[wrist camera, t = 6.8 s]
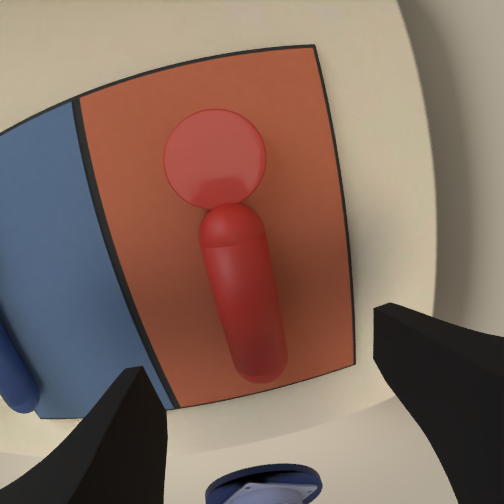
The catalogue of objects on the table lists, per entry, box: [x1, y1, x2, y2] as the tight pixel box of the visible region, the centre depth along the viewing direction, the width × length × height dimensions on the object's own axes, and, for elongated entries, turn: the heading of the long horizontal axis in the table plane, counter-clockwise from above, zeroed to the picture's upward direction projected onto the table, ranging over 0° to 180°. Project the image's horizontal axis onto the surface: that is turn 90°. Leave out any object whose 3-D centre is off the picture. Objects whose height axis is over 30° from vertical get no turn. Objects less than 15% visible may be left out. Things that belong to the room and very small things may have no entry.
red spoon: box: [163, 109, 288, 384], centre depth 12 cm, size 11×4×2 cm, turn 11°
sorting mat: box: [0, 44, 356, 419], centre depth 13 cm, size 16×20×1 cm
